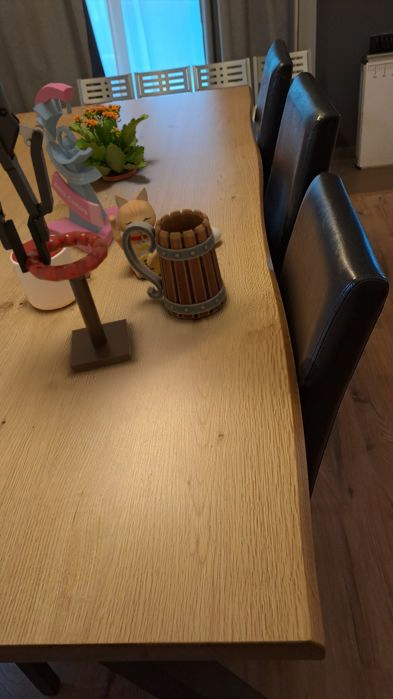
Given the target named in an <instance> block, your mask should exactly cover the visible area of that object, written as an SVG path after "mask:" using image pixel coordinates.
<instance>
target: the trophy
mask: <svg viewBox="0 0 393 699" xmlns="http://www.w3.org/2000/svg"><path fill="white" fill-rule="evenodd" d="M72 100H74V87H73V86H71V85H68V84H66V83H62V82H50V83H47V84H46V85H44V86H43V87H41V88H40V89H39V90H38V91H37V93H36V95H35V100H34V107H33V108H32V110H33V111H34V112H35V113H34V114H35V117H36V118H35V119H34V121H35V122H36V123H37V125H40V126H42V127H43V128H44V137H43V146H44V148H45V151H46V154H47V155H48V157H49V159H50V161H51V163H52V164H53V166H54V167H55V169H56V170H55V171H54V172H53V175H52V179H51V181H50V185H51V189H52V190H53V191H54V192H55V193H56V195H57V196H58V197H59V198H60V200H62V202H64V203H65V205H66V206H67V207H68V217H66V218H62V219H58V220H54V221H50V222H46V224H47V226H48V229H49V232H50V235H57V234H62V233H67V232H73V231H85V232H94V233H96V234H97V235H99V236H101V237H102V238H104V239H105V240H106V242H107V248H108V247H109V245H110V244H111V243H112V241H113V240H114V236H113V233H112V229H111V226H110V222H109V216H110V215H113V216H115V219H116V222H117V213H118V207H117V205H115V206H112V207H107V208H104V207H103V205H102V204H101V201H100V200H99V197H98V196H97V193H96V191H95V190H94V188H93V186H92V184H91V183H94V182H95V181H98V180H99V179H101V178H102V177H101V176H102V175H101V174H100V172H99V171H98V169H97V168H96V167H89V166H86V165H83V164H81V163H82V162H84V161H85V160H86V159H87V158H88V157H89V156H90V155H91V154H92V153H93V149H91V148H90V147H89V148H88V149H87V150H85V151H83V150H80V149H78V148H75V146H76V139H77V138H76V136H75V134H74V132H73V131H71V130H70V129H69V128H68V127H67V125H64V124H62V125H59V126H58V122H59V120H60V118H61V117H62V116H63V115H64V114H65V112H64V109H63V108H62V107H63V106H62V103H61V101H62V102H64V103H65V108H66V114H67V115H71V114H73V109H72ZM57 126H58V127H57ZM63 133H64V134H65V136H64V137H63V136H62V135H63ZM56 141H57V142H56ZM65 180H66V181H65ZM117 225H118V224H117ZM118 229H119V227H118ZM119 231H121V230H120V229H119ZM73 247H74V248H76V249H79V250H80V251H83V252H85V253H87V254H89V253H90V252H91V251H92V250H93V248H91V247H89V246H80V245H77V246H73Z"/></svg>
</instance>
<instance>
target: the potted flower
mask: <svg viewBox="0 0 393 699" xmlns="http://www.w3.org/2000/svg"><path fill="white" fill-rule="evenodd" d="M121 109H122V105H120V104H115V103H114V104H112V103H109V104H107V105H104V104H100V105H99V106H97V107H96V106H95V105H93V106H92V107H90V108H88V107H85V109H83V110H82V117H81V115H78V114H75V116H73V118H72V120H74V123H73V125H70V124H69V125H66V127H68V128H69V129H70V130H71V131H72V132H73V133H77V134H78V135H80V136H81V137H80V138H76V146H75V148H78V149H80V150H83V151H85V150H87V149H88V148H89V147H90V148H91V149H93V153H92V154H91V155H90V156H89V157H88V158H87V159H86V160H85V161H84V162H82V163H81V164H83V165H86V166H89V167H96V168H97V169H98V171H99V172H100V174H101V175H102V176H101V177H100V178H102V179H103V180H104V181H106V182H118V181H122V180H126V179H128V178H131V177H132V176H134V175H135V174H136V172H137V170H139V169H141V168H144V167H147V166H148V165H147V164H148V162H147V161H145V160H143V159H144V156H145V146H143V145H139V144H137V143H138V142H139V139H138V138H137V136H136V134H137V126H138V125H139V124H140V123H141V122H142V121H145V120H147V119H148V118H149V117H150V115H149V114H146V113H144V112H143V114H141V115H140V116H139V117H138V118H137V119H136V118H135V117H132V118H131V119H130V121H129V122H128V124H126V123H124V124H123V125H122V127H121V129H119V126H118V123H120V122H121V121H122V119H121V114H120V113H121ZM84 117H85V118H86V119H85V120H84ZM119 118H120V119H119ZM83 123H84V124H85V125H84V127H83V126H82V125H81V124H83Z"/></svg>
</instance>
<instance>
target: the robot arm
mask: <svg viewBox="0 0 393 699" xmlns="http://www.w3.org/2000/svg"><path fill="white" fill-rule="evenodd" d="M44 130H45V128H43V127H42V126H40V125H38V124H37V125H35V126H32V125H29V124H27V123H22V122H20V119H19V117H17V115H15V114H14V112H13V111H12V109H11V107H10V105H9V101H8V99H7V96H6V94H5V90H4V88H3V84H2V82H1V81H0V165H1V167H2V169H3V171H4V172H5V173H6V174H7V176H8V178H9V180H10V182H11V184H12V186H13V187H14V189H15V191H16V193H17V195H18V197H19V199H20V201H21V202H22V205H23V206H24V209H25V210H26V212H27V214H28V218H27V222H26V226H27V228H28V231H29V234H30V236H31V239H33V241H34V243H35V246H36V248H37V251H38V253H39V256H40V258H41V261H42V263H43V264H44V265H50V264H51V256H50V253H49V250H48V248H47V245H46V243H45V242H49V238H50V232H49V229H48V226H47V224H46V223H47V222H46V218H45V216H46V215H51V214H52V213H53V211H54V205H55V200H54V194H53V189H52V187H51V181H50V176H49V171H48V166H47V162H46V157H45V153H44V148H43V145H44V143H43V137H44ZM19 135H20V136H21V137H22V138H23V143H24V144H25V146H27V147H29V150H30V151H29V154H30V159H31V163H32V164H31V165H32V169H33V172H34V176H35V182H36V186H37V190H38V194H39V198H40V202H39V200H38V198H37V196H36V194H35V192H34V190H33V187H32V186H31V183H30V182H29V180H28V178H27V176H26V174H25V172H24V171H23V168H22V167H21V165H20V162H19V159H18V156H17V154H16V152H15V149H16V145H17V141H18V138H19ZM6 216H7V215H6V213H5V212H4V209H3V204H2V202H1V201H0V243H1V246H2V248H3V249H4V250H6V251H10V250H11V251H12V252H14V254H15V257H16V259H17V261H18V264H19V266H20V268H21V271H22V273H27V272H28V270H27V269H26V261H27V254H26V251H25V249H24V246H23V244H22V243H23V242H22V240H21V237H20V234H19V232H18V230H17V228H16V224H15V222H14V220H13V218H11V219H6Z"/></svg>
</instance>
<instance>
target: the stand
mask: <svg viewBox="0 0 393 699" xmlns="http://www.w3.org/2000/svg"><path fill="white" fill-rule="evenodd" d="M69 283H70V286H71V288H72V291H73V294H74V296H75V302H76V304H77V307H78V310H79V313H80V315H81V319H82V321H83V323H84V326H85V327H81V328H76V329H73V330H71V346H70V364H69V365H70V369H71V372H72V373H73V374H78V373H81V372H86V371H91V370H95V369H99V368H104V367H110V366H112V365H117V364H122V363H127V362H131V361H132V351H131V350H132V349H131V340H130V339H131V338H130V330H129V324H128V321H127V318H123V319H118V320H114V321H109V322H104V323H102V320H101V318H100V315H99V311H98V309H97V306H96V303H95V300H94V298H93V294H92V292H91V289H90V286H89V282H88V280H87V276H86V274H85V275H83V276H81V277H78V278H74V279H69Z"/></svg>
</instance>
